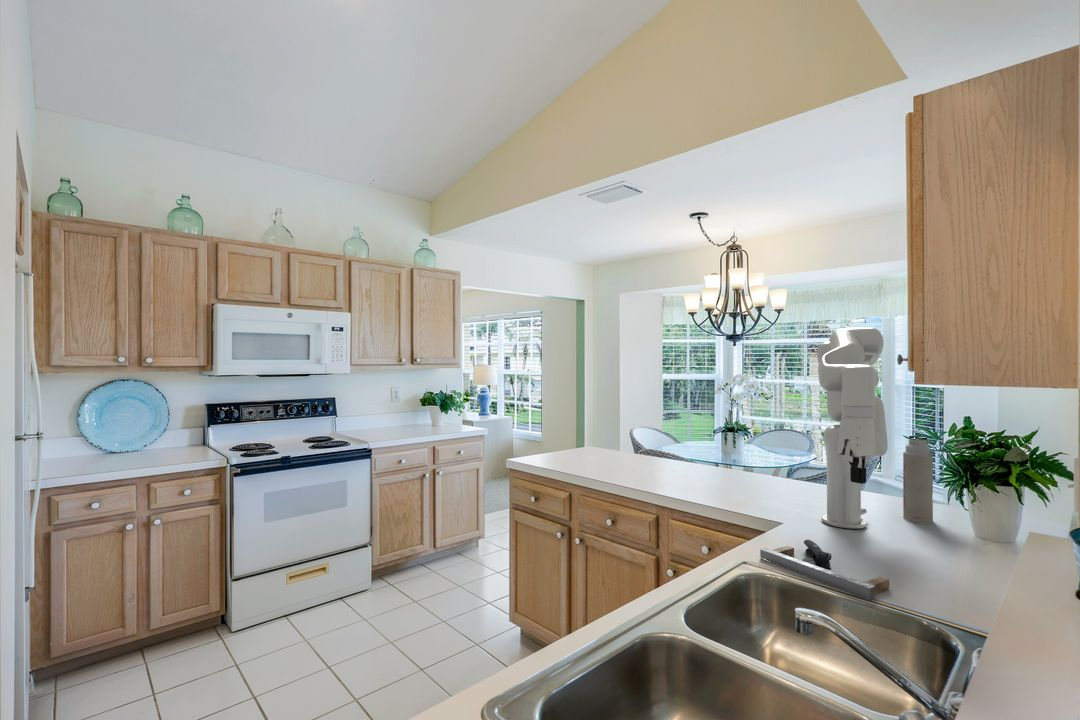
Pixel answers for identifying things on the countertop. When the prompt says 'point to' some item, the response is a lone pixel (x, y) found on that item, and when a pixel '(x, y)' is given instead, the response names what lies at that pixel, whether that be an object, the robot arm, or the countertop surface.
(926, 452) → the thermos bottle
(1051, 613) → the countertop surface
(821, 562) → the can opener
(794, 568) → the dock
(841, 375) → the robot arm
